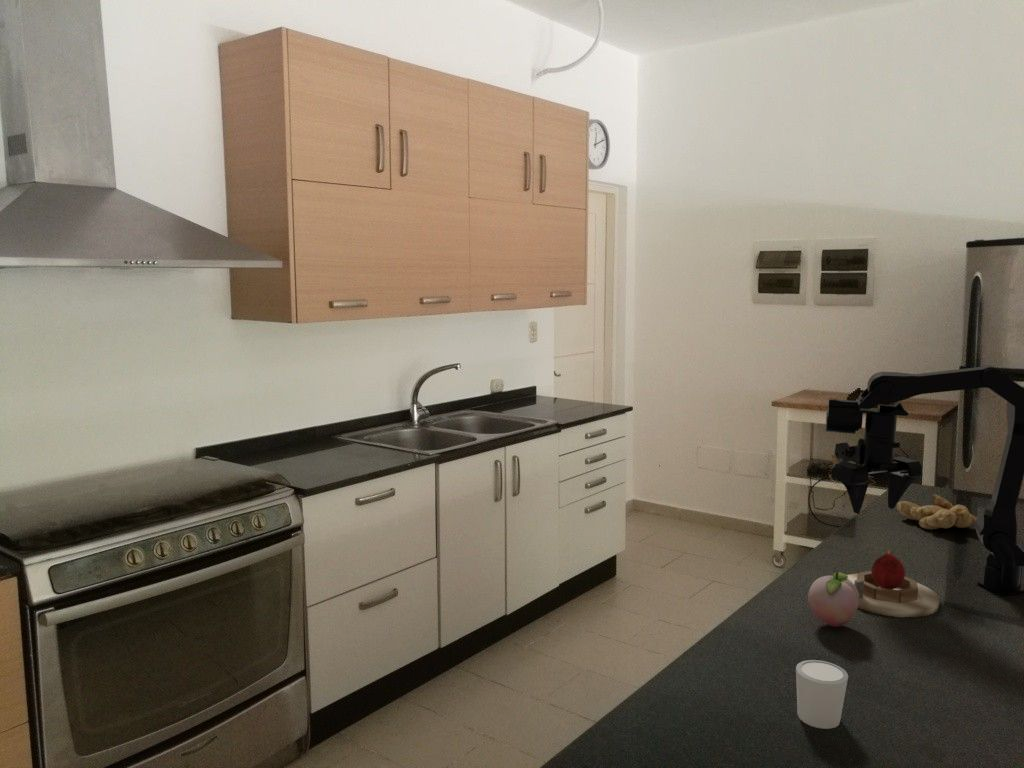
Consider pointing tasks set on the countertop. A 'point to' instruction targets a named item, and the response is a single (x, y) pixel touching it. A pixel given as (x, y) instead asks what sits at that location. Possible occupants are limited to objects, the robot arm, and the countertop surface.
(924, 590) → the flange plate
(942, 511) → the ginger root
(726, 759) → the countertop surface
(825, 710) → the white cup
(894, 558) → the onion
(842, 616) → the decorative fruit
